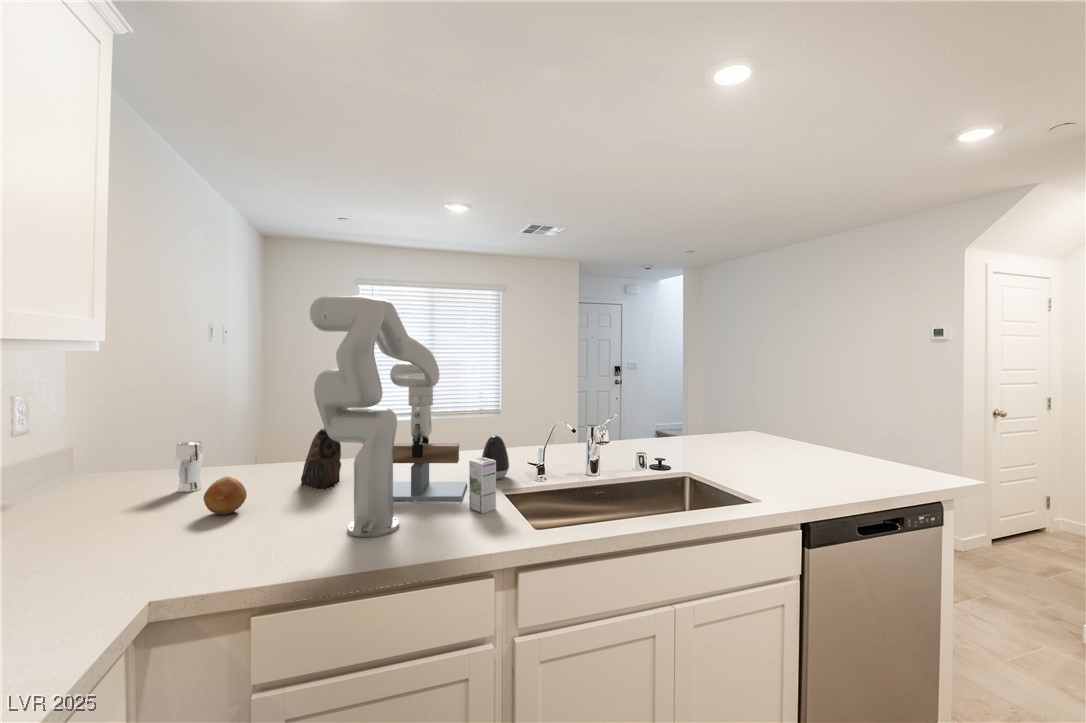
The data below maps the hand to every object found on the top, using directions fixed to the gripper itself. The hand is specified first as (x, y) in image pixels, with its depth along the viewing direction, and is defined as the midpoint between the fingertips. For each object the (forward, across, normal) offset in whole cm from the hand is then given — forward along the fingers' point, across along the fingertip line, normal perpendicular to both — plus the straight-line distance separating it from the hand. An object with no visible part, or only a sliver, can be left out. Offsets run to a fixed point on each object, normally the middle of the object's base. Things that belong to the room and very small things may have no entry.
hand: (420, 453), depth 154 cm
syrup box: (+13, -16, -21) cm, 29 cm away
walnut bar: (+2, 0, 0) cm, 3 cm away
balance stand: (+12, 0, 0) cm, 12 cm away
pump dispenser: (+13, +17, -23) cm, 31 cm away
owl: (+13, +10, +35) cm, 39 cm away
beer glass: (+13, +4, +74) cm, 75 cm away
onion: (+13, -18, +50) cm, 55 cm away
